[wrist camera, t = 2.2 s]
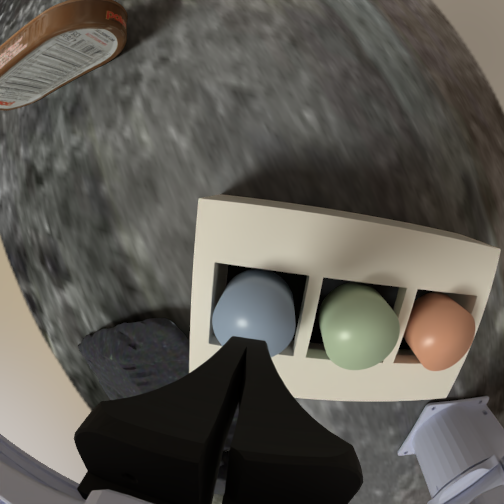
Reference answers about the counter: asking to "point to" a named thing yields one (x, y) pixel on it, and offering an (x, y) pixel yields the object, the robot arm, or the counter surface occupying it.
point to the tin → (59, 49)
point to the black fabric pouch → (144, 364)
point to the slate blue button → (256, 310)
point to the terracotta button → (439, 331)
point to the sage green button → (357, 326)
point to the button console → (336, 267)
